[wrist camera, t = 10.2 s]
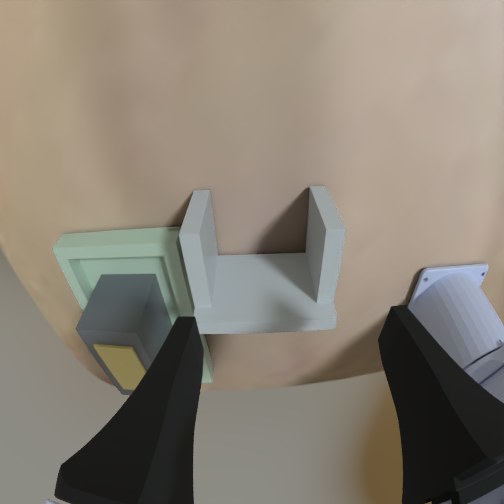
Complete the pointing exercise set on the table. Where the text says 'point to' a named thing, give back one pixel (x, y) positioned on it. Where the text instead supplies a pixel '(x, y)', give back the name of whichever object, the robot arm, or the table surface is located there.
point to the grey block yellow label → (125, 326)
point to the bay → (264, 274)
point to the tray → (131, 267)
